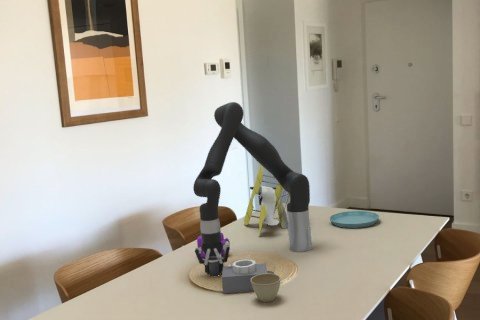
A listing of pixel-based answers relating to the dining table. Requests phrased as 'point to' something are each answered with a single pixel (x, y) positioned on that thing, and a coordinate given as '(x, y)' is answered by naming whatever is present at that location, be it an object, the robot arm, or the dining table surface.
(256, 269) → the camera body
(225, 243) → the toy camera
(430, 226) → the dining table surface
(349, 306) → the dining table surface
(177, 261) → the dining table surface
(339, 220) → the saucer
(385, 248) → the dining table surface
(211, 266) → the lens
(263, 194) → the biplane
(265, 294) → the flower pot
